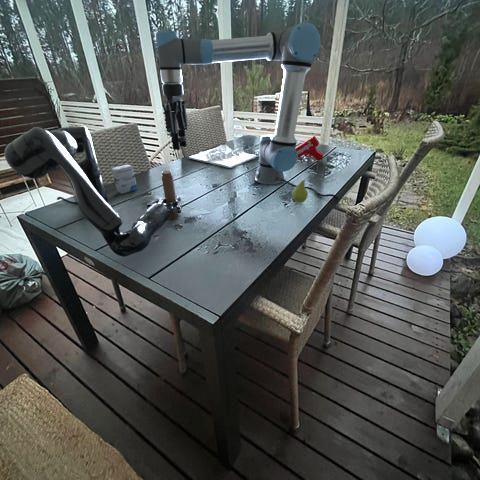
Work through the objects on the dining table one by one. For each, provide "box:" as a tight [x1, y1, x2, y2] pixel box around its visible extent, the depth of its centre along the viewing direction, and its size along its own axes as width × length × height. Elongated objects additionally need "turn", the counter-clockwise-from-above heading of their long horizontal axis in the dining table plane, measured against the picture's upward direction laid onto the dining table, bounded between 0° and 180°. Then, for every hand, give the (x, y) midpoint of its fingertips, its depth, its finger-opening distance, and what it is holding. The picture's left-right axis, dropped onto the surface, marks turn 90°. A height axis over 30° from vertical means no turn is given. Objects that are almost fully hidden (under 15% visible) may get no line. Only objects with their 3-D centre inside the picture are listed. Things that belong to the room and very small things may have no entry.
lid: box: [178, 135, 185, 143], centre depth 111 cm, size 5×5×2 cm
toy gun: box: [295, 135, 324, 163], centre depth 172 cm, size 18×4×15 cm
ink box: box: [110, 164, 138, 195], centre depth 131 cm, size 8×5×12 cm, turn 135°
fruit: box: [291, 174, 311, 204], centre depth 118 cm, size 7×8×12 cm
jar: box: [161, 170, 179, 219], centre depth 106 cm, size 4×4×18 cm
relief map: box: [188, 143, 257, 169], centre depth 179 cm, size 27×35×5 cm
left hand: (173, 198), depth 110 cm, fingers closed on jar, 4 cm apart
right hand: (179, 147), depth 113 cm, fingers closed on lid, 5 cm apart
